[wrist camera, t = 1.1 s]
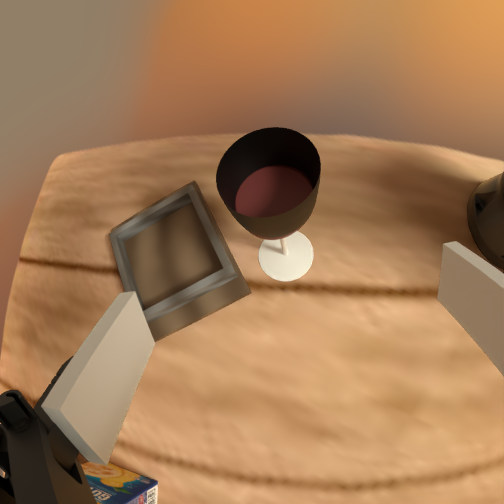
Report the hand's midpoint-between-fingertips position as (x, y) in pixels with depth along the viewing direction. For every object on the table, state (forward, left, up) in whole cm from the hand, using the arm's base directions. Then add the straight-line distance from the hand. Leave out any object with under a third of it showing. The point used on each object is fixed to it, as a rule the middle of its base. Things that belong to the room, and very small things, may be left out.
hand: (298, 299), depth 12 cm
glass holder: (+11, -19, -27) cm, 35 cm away
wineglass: (-3, -11, -27) cm, 30 cm away
